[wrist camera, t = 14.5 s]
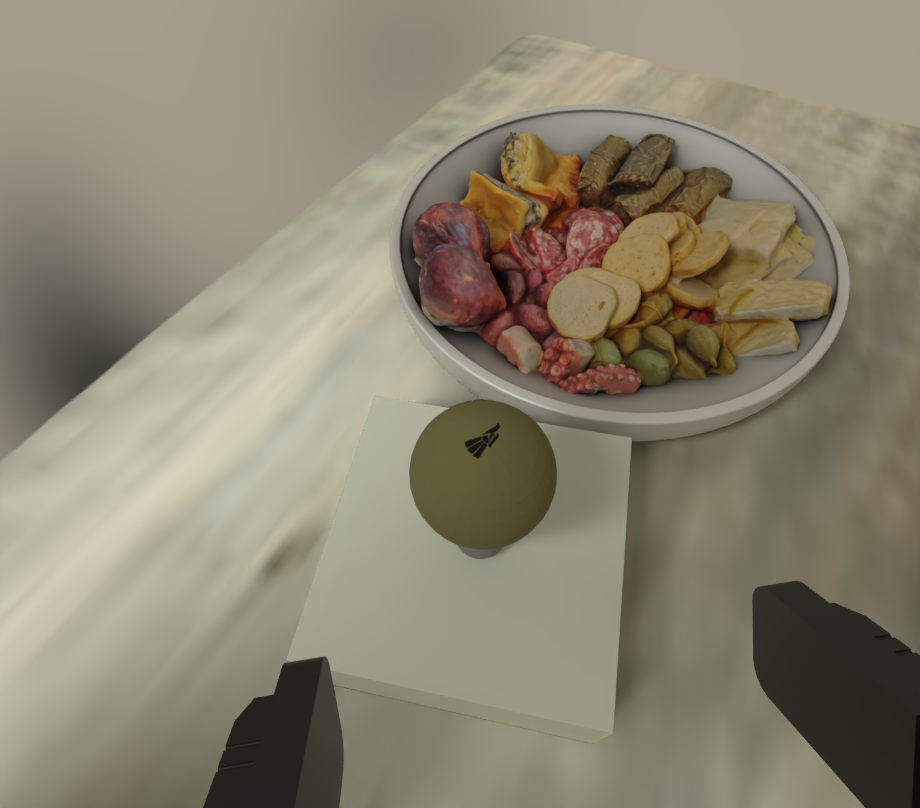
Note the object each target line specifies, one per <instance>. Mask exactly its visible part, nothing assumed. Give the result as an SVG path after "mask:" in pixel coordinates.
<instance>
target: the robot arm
mask: <svg viewBox="0 0 920 808" xmlns="http://www.w3.org/2000/svg"><path fill="white" fill-rule="evenodd" d="M753 659H754V667H755V671H756V674H757V677H758V680H759V682H760V685H761V687H762V689H763V690H764V692H765V693H766V695H767V696H768V697H769V699H770V700H771V701H772V702H773V703H774V704H775V706H776V707H777V708H778V709H779V710H780V711H781V712H782V713H783V715H784V716H785V717H786V718H787V719H788V720H789V721H790V723H791V724H792V725H793V726H794V727H795V728H796V729H797V730H798V732H799V733H800V734H801V735H802V736H803V737H804V738H805V740H806V741H807V742H808V743H809V744H810V745H811V746H812V748H813V749H814V750H815V751H816V752H817V753H818V754H819V755H820V757H821V758H822V759H823V760H824V761H825V762H826V763H827V765H828V766H829V767H830V768H831V769H832V770H833V771H834V773H835V774H836V775H837V776H838V777H839V778H840V779H841V780H842V782H843V783H844V784H845V785H846V786H847V787H848V788H849V790H850V791H851V792H852V793H853V794H854V795H855V796H856V798H857V799H858V800H859V801H860V802H861V803H862V804H863V805H864V807H865V808H920V655H918V654H917V653H912V652H911V649H910V648H909V647H907V646H906V645H905V644H903V643H902V642H901V641H899V640H898V639H896V638H892V637H891V636H890V633H888V632H887V631H885V630H884V629H883V628H881V627H880V626H879V625H877V624H876V623H874V622H873V621H872V620H870V619H869V618H868V617H866V616H864V615H862V614H859V613H857V612H855V611H852V610H850V609H847V608H845V607H843V606H840V605H838V604H836V603H832V604H830V603H829V602H827V601H826V600H825V599H823V598H822V597H821V596H819V595H818V594H817V593H815V592H814V591H813V590H811V589H810V588H809V587H807V586H806V585H805V584H803V583H802V582H799V581H792V582H786V583H780V584H773V585H767V586H761V587H757V588H756V589H755V591H754V593H753ZM343 761H344V756H343V738H342V730H341V724H340V719H339V713H338V708H337V702H336V697H335V692H334V686H333V681H332V675H331V670H330V665H329V661H328V659H327V657H326V656H323V657H317V658H311V659H305V660H298V661H292V662H286V663H284V664H283V666H282V669H281V672H280V676H279V679H278V683H277V686H276V689H275V693H274V695H270V696H264V697H258V698H254V699H253V700H252V702H251V703H250V704H249V705H248V706H247V707H246V709H245V710H244V711H243V712H242V713H241V714H240V716H239V717H238V718H237V719H236V720H235V722H234V725H233V727H232V730H231V733H230V735H229V738H228V741H227V744H226V751H224V752H223V755H222V757H221V760H220V763H219V766H218V772H216V774H215V777H214V779H213V782H212V785H211V787H210V790H209V793H208V796H207V798H206V801H205V804H204V807H203V808H339V803H340V794H341V785H342V776H343Z"/></svg>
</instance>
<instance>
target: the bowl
mask: <svg viewBox="0 0 920 808" xmlns="http://www.w3.org/2000/svg"><path fill="white" fill-rule="evenodd" d="M390 261H391V268H392V274H393V279H394V284H395V288H396V291H397V295H398V298H399V300H400V303H401V306H402V308H403V311H404V313H405V315H406V317H407V319H408V321H409V323H410V325H411V326H412V328H413V330H414V332H415V333H416V335H417V336H418V338H419V339H420V341H421V342H422V344H423V345H424V346H425V348H426V349H427V350H428V351H429V352H430V354H431V355H432V356H433V357H434V359H435V360H436V361H437V362H438V363H439V364H440V365H441V366H442V367H443V368H444V369H445V370H446V371H447V372H448V373H449V374H450V375H452V376H453V377H454V378H455V379H456V380H457V381H459V382H460V383H461V384H462V385H464V386H465V387H466V388H467V389H469V390H470V391H472V392H473V393H474V394H476V395H477V396H479V397H480V398H482V399H484V400H494V401H498V402H502V403H506V404H508V405H511V406H513V407H515V408H517V409H519V410H521V411H522V412H524V413H525V414H527V415H528V416H530V417H531V418H532V419H533V420H534V421H535V422H538V423H544V424H550V425H556V426H562V427H568V428H575V429H581V430H587V431H593V432H599V433H605V434H611V435H617V436H623V437H629V438H632V441H657V440H667V439H675V438H681V437H686V436H692V435H696V434H700V433H704V432H708V431H712V430H715V429H718V428H721V427H724V426H727V425H730V424H732V423H735V422H737V421H740V420H742V419H744V418H746V417H748V416H750V415H752V414H755V413H756V412H758V411H760V410H762V409H763V408H765V407H767V406H769V405H770V404H772V403H773V402H775V401H776V400H778V399H779V398H781V397H782V396H784V395H785V394H786V393H787V392H788V391H790V390H791V389H792V388H793V387H795V386H796V385H797V384H798V383H799V382H800V381H801V380H802V379H803V378H804V377H805V376H806V375H807V374H808V373H809V372H810V371H811V370H812V369H813V368H814V366H815V365H816V364H817V363H818V362H819V360H820V359H821V358H822V357H823V355H824V354H825V353H826V351H827V350H828V348H829V347H830V346H831V344H832V343H833V341H834V339H835V337H836V336H837V334H838V332H839V330H840V327H841V325H842V323H843V320H844V317H845V314H846V311H847V306H848V301H849V292H850V274H849V265H848V260H847V255H846V252H845V248H844V245H843V242H842V240H841V237H840V235H839V233H838V231H837V228H836V226H835V224H834V223H833V221H832V219H831V218H830V216H829V214H828V213H827V211H826V210H825V208H824V207H823V205H822V204H821V203H820V202H819V200H818V199H817V198H816V197H815V195H814V194H813V193H812V192H811V191H810V190H809V189H808V188H807V187H806V186H805V185H804V184H803V183H802V182H801V181H800V180H799V179H798V178H797V177H796V176H795V175H794V174H793V173H792V172H790V171H789V170H788V169H787V168H785V167H784V166H783V165H782V164H780V163H779V162H778V161H776V160H775V159H773V158H772V157H771V156H769V155H767V154H766V153H764V152H763V151H761V150H760V149H758V148H756V147H754V146H753V145H751V144H749V143H747V142H745V141H744V140H742V139H740V138H738V137H736V136H733V135H731V134H729V133H727V132H725V131H722V130H720V129H718V128H715V127H712V126H710V125H707V124H704V123H701V122H698V121H695V120H692V119H689V118H685V117H682V116H678V115H674V114H670V113H666V112H661V111H656V110H650V109H644V108H637V107H629V106H618V105H568V106H558V107H550V108H543V109H538V110H532V111H528V112H523V113H519V114H516V115H512V116H509V117H505V118H502V119H499V120H496V121H494V122H491V123H488V124H486V125H484V126H481V127H479V128H477V129H475V130H473V131H471V132H469V133H467V134H465V135H463V136H461V137H460V138H458V139H456V140H455V141H453V142H452V143H450V144H449V145H447V146H446V147H445V148H443V149H442V150H441V151H439V152H438V153H437V154H436V155H434V156H433V157H432V158H431V159H430V160H429V161H428V162H427V163H426V164H425V165H424V166H423V167H422V168H421V169H420V170H419V171H418V173H417V174H416V175H415V176H414V177H413V179H412V180H411V182H410V183H409V185H408V186H407V188H406V190H405V191H404V193H403V195H402V197H401V199H400V201H399V203H398V206H397V208H396V211H395V214H394V218H393V221H392V226H391V232H390Z"/></svg>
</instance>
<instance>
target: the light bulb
mask: <svg viewBox="0 0 920 808" xmlns="http://www.w3.org/2000/svg"><path fill="white" fill-rule="evenodd" d="M409 478H410V489H411V492H412V496H413V499H414V502H415V505H416V507H417V509H418V510H419V512H420V514H421V516H422V517H423V519H424V520H425V521H426V522H427V523H428V524H429V526H430V527H431V528H432V529H433V530H434V531H435V532H437V533H438V534H439V535H440V536H442V537H443V538H444V539H446V540H448V541H450V542H452V543H454V544H456V545H458V547H459V549H460V550H461V551H462V552H463V553H464V554H466V555H467V556H469V557H472V558H475V559H486V558H490V557H492V556H494V555H496V554H497V553H498V552H499V551H500V550H501V549H502V548H503V547H505V546H508V545H510V544H512V543H515V542H517V541H519V540H520V539H522V538H523V537H525V536H526V535H528V534H529V533H530V532H531V531H532V530H533V529H534V528H535V527H536V526H537V525H538V524H539V523H540V522H541V521H542V520H543V518H544V516H545V515H546V513H547V511H548V510H549V508H550V505H551V503H552V500H553V497H554V494H555V490H556V484H557V467H556V460H555V456H554V452H553V449H552V447H551V444H550V442H549V440H548V438H547V436H546V435H545V433H544V432H543V430H542V429H541V428H540V426H539V425H538V424H537V423H536V422H535V421H534V420H533V419H532V418H531V417H530V416H528V415H527V414H525V413H524V412H522V411H521V410H519V409H517V408H515V407H513V406H511V405H508V404H506V403H502V402H498V401H494V400H473V401H467V402H464V403H460V404H457V405H455V406H453V407H451V408H449V409H447V410H445V411H443V412H442V413H440V414H439V415H438V416H436V417H435V418H434V419H433V420H432V421H431V422H430V423H429V424H428V425H427V426H426V427H425V429H424V430H423V432H422V433H421V435H420V436H419V438H418V440H417V442H416V444H415V447H414V450H413V452H412V455H411V461H410V468H409Z"/></svg>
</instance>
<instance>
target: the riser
mask: <svg viewBox="0 0 920 808" xmlns="http://www.w3.org/2000/svg"><path fill="white" fill-rule="evenodd" d="M447 409H449V408H447V407H440V406H434V405H428V404H422V403H416V402H410V401H404V400H398V399H392V398H386V397H380V396H375V397H374V399H373V402H372V405H371V408H370V411H369V414H368V417H367V420H366V423H365V426H364V429H363V432H362V435H361V438H360V441H359V444H358V447H357V450H356V453H355V456H354V459H353V462H352V465H351V468H350V471H349V474H348V477H347V480H346V483H345V486H344V489H343V492H342V495H341V498H340V501H339V504H338V507H337V510H336V513H335V515H334V518H333V521H332V524H331V527H330V530H329V533H328V536H327V539H326V542H325V545H324V548H323V551H322V554H321V557H320V560H319V563H318V566H317V569H316V572H315V575H314V578H313V581H312V584H311V587H310V590H309V593H308V596H307V599H306V602H305V605H304V608H303V611H302V614H301V617H300V620H299V623H298V626H297V628H296V631H295V634H294V637H293V640H292V643H291V646H290V649H289V652H288V655H287V658H286V661H287V662H292V661H298V660H305V659H311V658H317V657H323V656H326V657H327V659H328V661H329V665H330V670H331V675H332V681H333V685H336V686H340V687H345V688H349V689H353V690H358V691H362V692H367V693H371V694H375V695H380V696H384V697H389V698H393V699H397V700H402V701H406V702H411V703H415V704H420V705H424V706H428V707H433V708H437V709H442V710H446V711H450V712H455V713H459V714H464V715H468V716H472V717H477V718H481V719H486V720H490V721H495V722H499V723H503V724H508V725H512V726H517V727H521V728H525V729H530V730H534V731H539V732H543V733H548V734H552V735H556V736H561V737H565V738H570V739H574V740H578V741H583V742H587V743H592V744H594V743H596V742H598V741H600V740H602V739H604V738H606V737H608V736H610V735H612V734H613V729H614V713H615V697H616V681H617V665H618V649H619V634H620V618H621V602H622V586H623V570H624V554H625V539H626V523H627V507H628V491H629V475H630V459H631V444H632V438H629V437H623V436H617V435H611V434H605V433H599V432H593V431H587V430H581V429H575V428H568V427H562V426H556V425H550V424H544V423H538V422H536V423H537V424H538V425H539V426H540V428H541V429H542V430H543V432H544V433H545V435H546V436H547V438H548V440H549V442H550V444H551V447H552V449H553V452H554V456H555V460H556V467H557V484H556V490H555V494H554V497H553V500H552V503H551V505H550V508H549V510H548V511H547V513H546V515H545V516H544V518H543V520H542V521H541V522H540V523H539V524H538V525H537V526H536V527H535V528H534V529H533V530H532V531H531V532H530V533H529V534H528V535H526V536H525V537H523V538H522V539H520V540H519V541H517V542H515V543H512V544H510V545H508V546H505V547H503V548H502V549H501V550H500V551H499V552H498V553H497V554H496V555H494V556H492V557H490V558H486V559H475V558H472V557H469V556H467V555H466V554H464V553H463V552H462V551H461V550H460V549H459V547H458V545H456V544H454V543H452V542H450V541H448V540H446V539H444V538H443V537H442V536H440V535H439V534H438V533H437V532H435V531H434V530H433V529H432V528H431V527H430V526H429V524H428V523H427V522H426V521H425V520H424V519H423V517H422V516H421V514H420V512H419V510H418V509H417V507H416V505H415V502H414V499H413V496H412V492H411V489H410V478H409V468H410V461H411V455H412V452H413V450H414V447H415V444H416V442H417V440H418V438H419V436H420V435H421V433H422V432H423V430H424V429H425V427H426V426H427V425H428V424H429V423H430V422H431V421H432V420H433V419H434V418H435V417H436V416H438V415H439V414H440V413H442V412H443V411H445V410H447Z"/></svg>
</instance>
